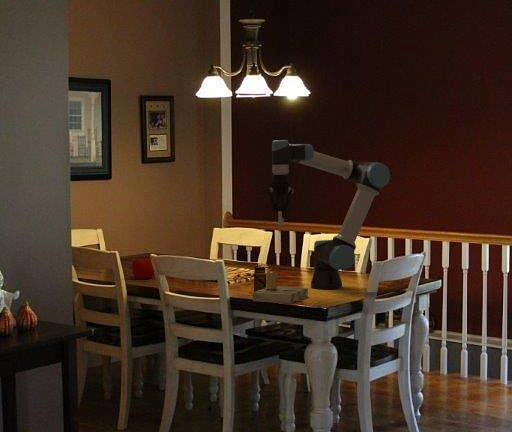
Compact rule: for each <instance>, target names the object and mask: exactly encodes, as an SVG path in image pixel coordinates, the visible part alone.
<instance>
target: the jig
mask: <svg viewBox="0 0 512 432" xmlns="http://www.w3.org/2000/svg"><path fill="white" fill-rule="evenodd" d="M308 292H309V288H307V287H294V286H278V285H277V290H276V291H268V290H267V288H265V289H261V290H258V291H255V292H253V293H252V301H253V302H263V303H277V304H289V305H290V304H293V303H296V302H298V301H300V300H303V298H304V299H306V298H309V293H308ZM295 301H296V302H295Z"/></svg>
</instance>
